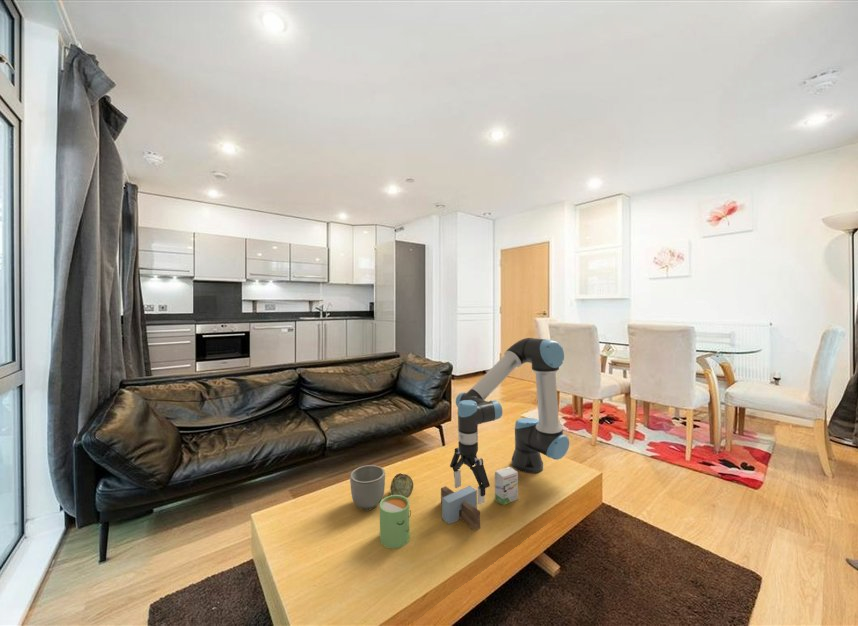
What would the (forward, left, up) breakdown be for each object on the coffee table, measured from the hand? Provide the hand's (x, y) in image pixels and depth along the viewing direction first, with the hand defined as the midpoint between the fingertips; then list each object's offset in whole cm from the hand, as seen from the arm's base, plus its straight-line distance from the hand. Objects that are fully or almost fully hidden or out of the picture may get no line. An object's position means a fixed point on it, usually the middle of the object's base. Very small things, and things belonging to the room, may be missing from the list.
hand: (469, 494), depth 127 cm
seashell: (+17, -23, -6) cm, 29 cm away
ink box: (-17, +4, -6) cm, 19 cm away
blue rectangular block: (+5, 0, -6) cm, 8 cm away
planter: (+31, -26, -6) cm, 41 cm away
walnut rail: (+5, 0, -6) cm, 8 cm away
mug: (+30, -4, -6) cm, 31 cm away
